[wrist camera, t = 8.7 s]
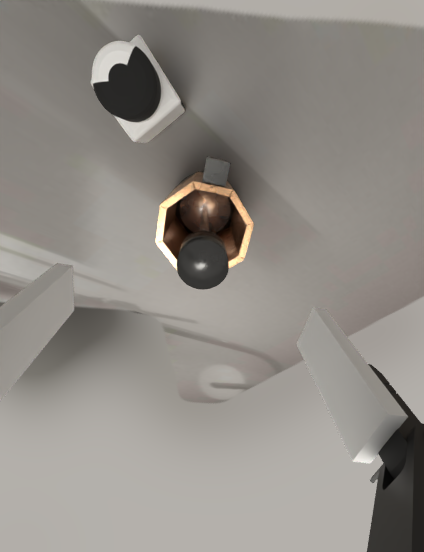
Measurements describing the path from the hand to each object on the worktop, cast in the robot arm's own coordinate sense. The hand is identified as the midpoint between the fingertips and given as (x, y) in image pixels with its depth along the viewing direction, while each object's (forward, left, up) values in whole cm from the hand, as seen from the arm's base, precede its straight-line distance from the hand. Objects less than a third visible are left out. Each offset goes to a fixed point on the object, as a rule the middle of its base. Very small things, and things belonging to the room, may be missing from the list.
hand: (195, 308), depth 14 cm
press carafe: (0, +1, -29) cm, 29 cm away
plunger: (0, 0, -28) cm, 28 cm away
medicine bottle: (-10, +12, -29) cm, 33 cm away
